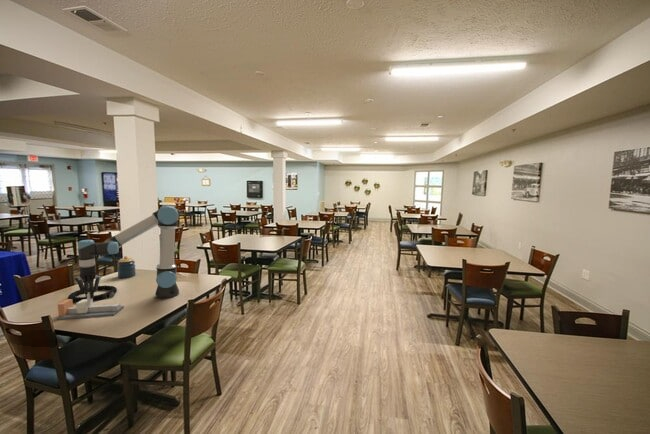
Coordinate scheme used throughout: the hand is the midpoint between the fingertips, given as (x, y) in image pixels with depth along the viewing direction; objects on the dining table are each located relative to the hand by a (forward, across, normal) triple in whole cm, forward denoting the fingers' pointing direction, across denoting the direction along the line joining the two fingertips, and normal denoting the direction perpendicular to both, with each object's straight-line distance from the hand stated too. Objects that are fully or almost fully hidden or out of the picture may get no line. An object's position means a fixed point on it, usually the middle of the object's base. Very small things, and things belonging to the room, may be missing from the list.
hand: (90, 303), depth 178 cm
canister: (+6, +13, -80) cm, 82 cm away
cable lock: (+7, +14, -33) cm, 37 cm away
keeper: (+5, +3, 0) cm, 6 cm away
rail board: (+6, 0, 0) cm, 6 cm away
